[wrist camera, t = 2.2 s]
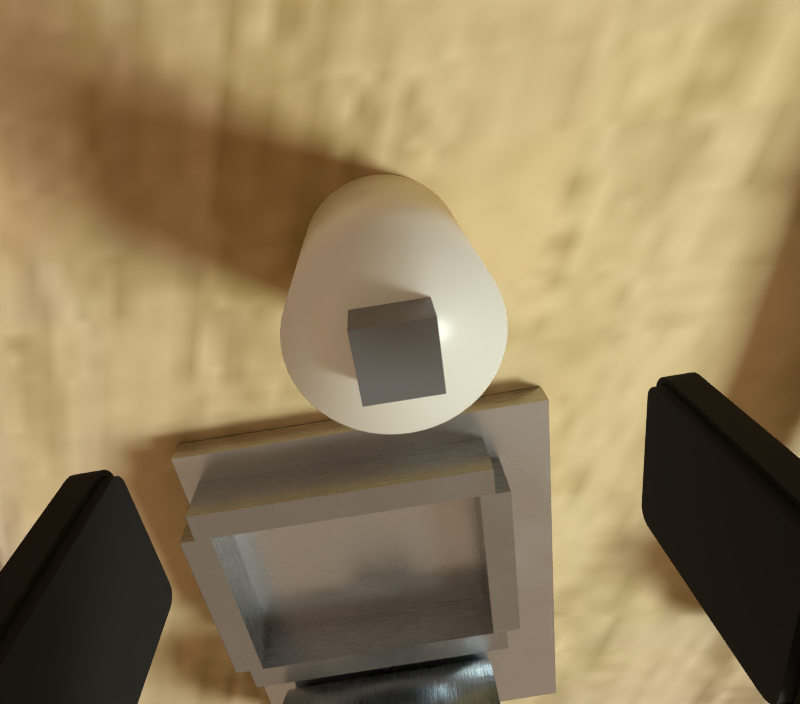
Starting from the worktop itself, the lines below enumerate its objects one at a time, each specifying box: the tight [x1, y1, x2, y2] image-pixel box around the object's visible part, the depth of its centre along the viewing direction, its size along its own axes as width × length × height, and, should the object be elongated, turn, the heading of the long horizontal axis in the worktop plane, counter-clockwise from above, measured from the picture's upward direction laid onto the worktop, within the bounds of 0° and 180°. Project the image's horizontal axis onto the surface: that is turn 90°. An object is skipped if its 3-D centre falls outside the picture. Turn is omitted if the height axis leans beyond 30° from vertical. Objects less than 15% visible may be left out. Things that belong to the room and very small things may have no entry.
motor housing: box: [171, 387, 556, 704], centre depth 24 cm, size 19×15×8 cm
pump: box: [280, 174, 507, 434], centre depth 17 cm, size 6×6×8 cm
